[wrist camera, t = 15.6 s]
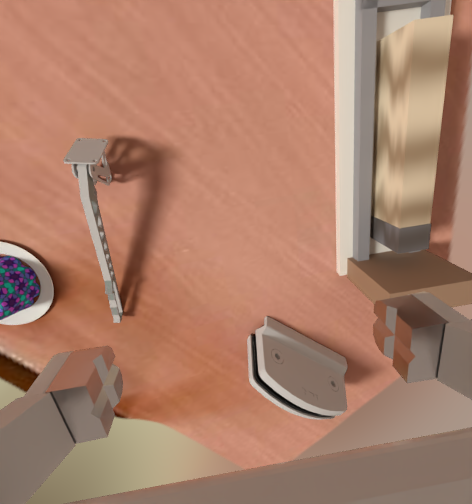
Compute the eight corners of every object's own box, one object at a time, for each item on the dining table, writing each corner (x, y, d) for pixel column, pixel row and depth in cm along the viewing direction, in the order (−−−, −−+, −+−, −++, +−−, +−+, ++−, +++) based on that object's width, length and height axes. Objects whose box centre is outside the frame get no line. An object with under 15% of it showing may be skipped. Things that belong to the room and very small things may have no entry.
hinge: (347, 358, 48) (362, 424, 40) (326, 370, 50) (336, 434, 42) (264, 314, 43) (263, 378, 35) (246, 330, 46) (241, 393, 38)
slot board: (333, -8, 30) (400, -86, 20) (445, -22, 31) (569, -106, 20) (336, 275, 42) (379, 319, 32) (417, 261, 42) (486, 301, 32)
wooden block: (376, 41, 31) (414, 19, 25) (409, 37, 31) (455, 14, 25) (370, 237, 39) (398, 253, 33) (396, 233, 39) (428, 248, 33)
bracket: (109, 138, 31) (81, 195, 24) (140, 266, 47) (129, 323, 40) (77, 137, 31) (41, 194, 24) (120, 266, 46) (105, 323, 40)
